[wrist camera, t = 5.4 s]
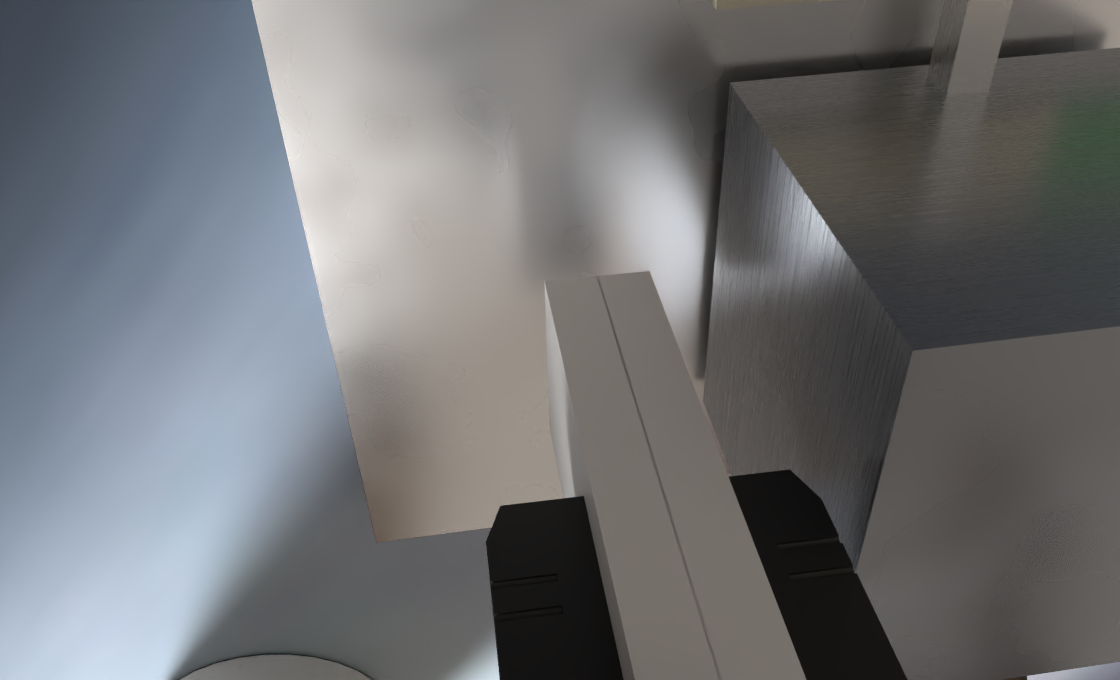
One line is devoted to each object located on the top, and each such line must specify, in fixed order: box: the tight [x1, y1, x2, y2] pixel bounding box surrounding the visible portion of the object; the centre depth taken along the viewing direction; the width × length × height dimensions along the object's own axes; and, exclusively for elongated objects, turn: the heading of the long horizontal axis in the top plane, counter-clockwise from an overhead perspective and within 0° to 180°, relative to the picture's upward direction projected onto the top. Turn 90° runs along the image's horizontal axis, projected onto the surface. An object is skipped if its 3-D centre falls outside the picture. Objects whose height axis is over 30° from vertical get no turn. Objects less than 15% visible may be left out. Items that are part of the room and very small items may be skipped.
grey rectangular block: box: [703, 0, 1120, 680], centre depth 13 cm, size 8×6×6 cm
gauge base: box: [252, 0, 1120, 543], centre depth 15 cm, size 12×24×6 cm, turn 92°
